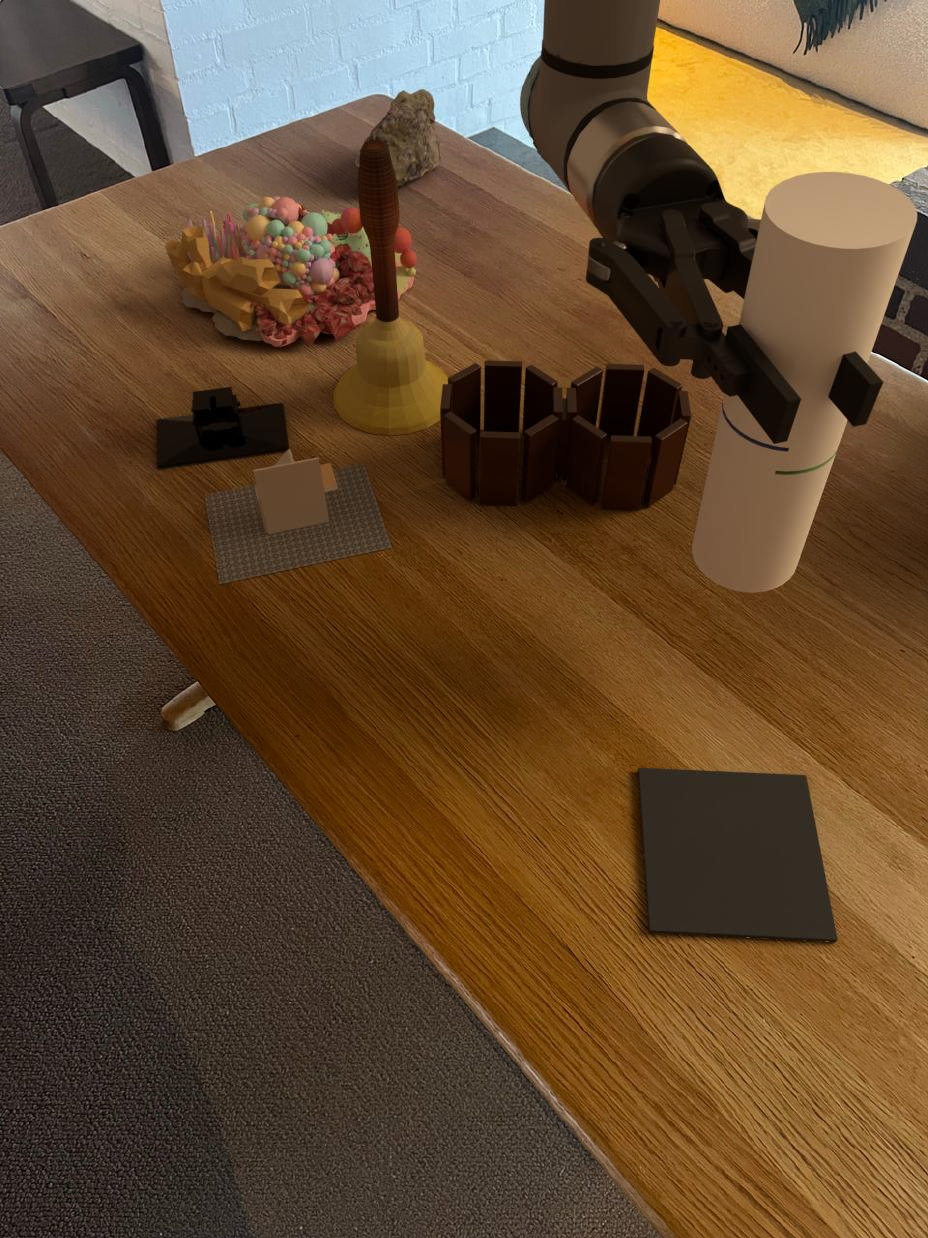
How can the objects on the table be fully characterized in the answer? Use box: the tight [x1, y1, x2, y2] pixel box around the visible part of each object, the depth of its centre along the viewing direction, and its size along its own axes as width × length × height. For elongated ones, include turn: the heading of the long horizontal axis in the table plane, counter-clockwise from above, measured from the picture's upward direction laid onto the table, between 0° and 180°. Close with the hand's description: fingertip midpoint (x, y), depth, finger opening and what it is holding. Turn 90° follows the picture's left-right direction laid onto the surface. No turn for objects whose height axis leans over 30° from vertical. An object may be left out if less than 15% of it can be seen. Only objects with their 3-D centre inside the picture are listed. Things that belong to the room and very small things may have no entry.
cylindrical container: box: [691, 171, 918, 593], centre depth 56 cm, size 7×7×25 cm
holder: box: [440, 359, 692, 511], centre depth 87 cm, size 22×11×8 cm, turn 87°
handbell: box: [332, 140, 449, 437], centre depth 87 cm, size 12×12×25 cm
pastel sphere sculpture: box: [164, 195, 418, 349], centre depth 105 cm, size 25×24×9 cm
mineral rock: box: [355, 88, 442, 187], centre depth 121 cm, size 13×11×10 cm
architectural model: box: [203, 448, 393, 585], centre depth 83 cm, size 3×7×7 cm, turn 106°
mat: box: [637, 767, 839, 943], centre depth 65 cm, size 12×12×1 cm
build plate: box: [156, 386, 290, 470], centre depth 91 cm, size 12×7×5 cm, turn 101°
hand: (827, 412), depth 48 cm, fingers open, 4 cm apart
